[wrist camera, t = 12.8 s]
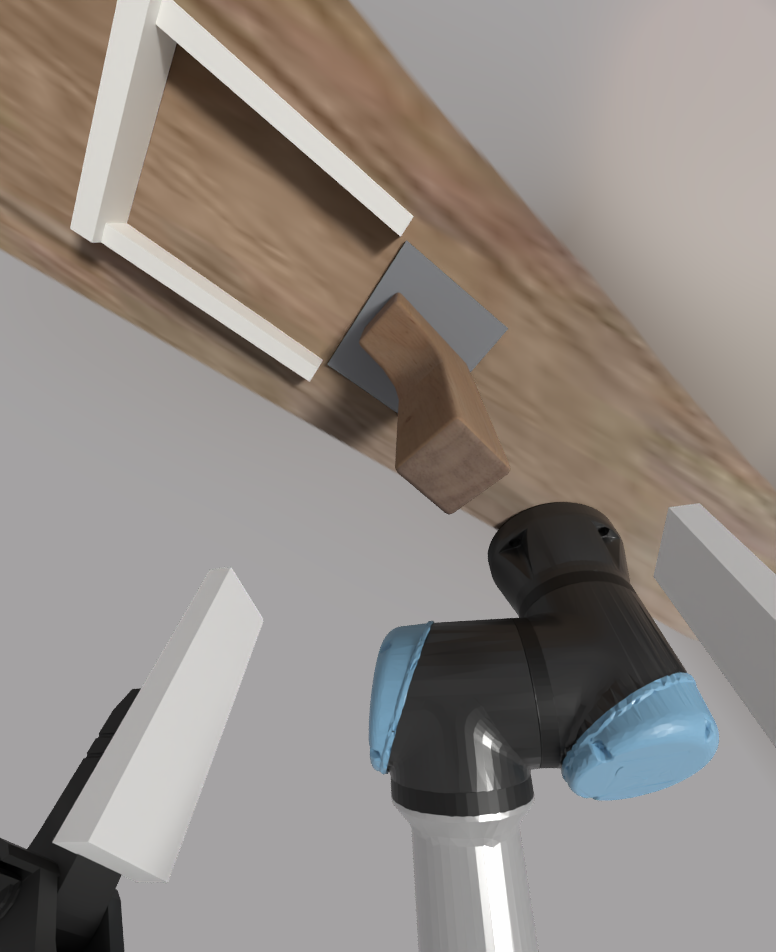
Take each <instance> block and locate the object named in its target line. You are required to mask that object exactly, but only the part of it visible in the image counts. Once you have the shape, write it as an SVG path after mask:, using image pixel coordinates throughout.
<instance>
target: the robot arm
mask: <svg viewBox="0 0 776 952" xmlns="http://www.w3.org/2000/svg"><path fill="white" fill-rule="evenodd" d="M488 562H489V566H490V570H491V574H492V577H493V580H494V582H495V584H496V585H497V587H498V588H499V590H500V591H501V592H502V594H503V595H504V596H505V598H506V599H507V600H508V602H509V603H510V604H511V606H512V607H513V609H514V610H515V611H516V613H517V614H518V616H519V618H507V619H490V620H476V621H458V622H441V623H434V622H433V621H429V622H428V623H427V624H418V625H409V626H401V627H397V628H395V629H393V630H392V631H390V632H389V633H388V635H387V636H386V637H385V639H384V640H383V643H382V645H381V647H380V651H379V654H378V658H377V662H376V667H375V672H374V679H373V685H372V694H371V703H370V716H369V745H370V760H371V764H372V766H373V768H374V769H375V770H377V771H380V772H381V773H382V774H388V772H390V775H391V791H392V802H393V804H394V806H395V807H396V808H397V809H398V811H399V812H400V813H401V814H402V815H403V816H404V817H405V819H406V820H407V821H408V822H409V823H410V825H411V828H412V842H413V859H414V874H415V875H414V877H415V895H416V912H417V930H418V947H419V952H539V951H538V944H537V937H536V931H535V924H534V918H533V911H532V905H531V898H530V891H529V885H528V879H527V872H526V865H525V859H524V852H523V846H522V840H521V833H520V824H521V822H522V820H523V818H524V817H525V815H526V814H527V812H528V811H529V809H530V808H531V806H532V805H533V803H534V799H535V798H534V792H533V785H532V779H531V774H530V773H531V769H538V768H561V772H562V776H563V778H564V780H565V781H566V782H567V783H568V785H569V787H570V788H571V790H572V791H573V792H574V793H576V794H577V795H579V796H581V797H584V798H589V797H590V798H593V799H595V800H619V799H626V798H632V797H637V796H640V795H645V794H649V793H652V792H656V791H659V790H662V789H664V788H667V787H670V786H672V785H674V784H676V783H679V782H681V781H683V780H685V779H686V778H688V777H690V776H692V775H693V774H695V773H696V772H698V771H699V770H700V769H702V768H703V767H704V766H705V765H706V764H707V763H708V762H709V761H710V760H711V759H712V758H713V756H714V754H715V752H716V750H717V748H718V743H719V733H718V728H717V725H716V723H715V721H714V719H713V717H712V715H711V713H710V711H709V709H708V708H707V706H706V704H705V702H704V700H703V698H702V696H701V694H700V693H699V691H698V689H697V687H696V683H695V680H694V679H693V677H692V676H691V675H690V674H688V673H687V671H686V670H685V668H684V667H683V665H682V663H681V662H680V660H679V659H678V657H677V656H676V654H675V653H674V651H673V649H672V648H671V647H670V645H669V644H668V642H667V640H666V639H665V637H664V636H663V634H662V632H661V631H660V629H659V628H658V626H657V625H656V623H655V621H654V620H653V618H652V617H651V615H650V614H649V612H648V611H647V609H646V607H645V606H644V604H643V603H642V601H641V600H640V598H639V597H638V595H637V594H636V592H635V590H634V589H633V587H632V585H631V584H630V579H629V573H628V568H627V562H626V557H625V551H624V546H623V542H622V540H621V537H620V535H619V534H618V532H617V531H616V529H615V528H614V526H613V525H612V523H611V522H610V521H609V519H608V518H607V517H606V516H605V515H604V514H602V513H601V512H599V511H598V510H596V509H594V508H592V507H589V506H586V505H582V504H578V503H568V502H559V503H550V504H544V505H540V506H536V507H533V508H531V509H528V510H526V511H524V512H521V513H520V514H518V515H516V516H514V517H513V518H511V519H510V520H509V521H507V522H506V523H505V524H504V525H503V526H502V527H501V528H500V529H499V530H498V531H497V533H496V534H495V536H494V537H493V539H492V541H491V543H490V546H489V550H488ZM654 578H655V579H656V581H657V582H658V583H659V585H660V586H661V588H662V589H663V590H664V592H665V593H666V595H667V596H668V597H669V599H670V600H671V602H672V603H673V604H674V606H675V607H676V609H677V610H678V611H679V613H680V614H681V616H682V617H683V618H684V620H685V621H686V623H687V624H688V625H689V627H690V628H691V630H692V631H693V632H694V634H695V635H696V637H697V638H698V639H699V641H700V642H701V644H702V645H703V646H704V648H705V649H706V650H707V652H708V653H709V655H710V656H711V658H712V659H713V660H714V662H715V663H716V665H717V666H718V667H719V669H720V670H721V672H722V673H723V674H724V676H725V677H726V679H727V680H728V681H729V683H730V684H731V686H732V687H733V688H734V690H735V691H736V693H737V694H738V695H739V697H740V698H741V700H742V701H743V702H744V704H745V705H746V707H747V708H748V709H749V711H750V712H751V714H752V715H753V717H754V718H755V719H756V721H757V722H758V724H759V725H760V726H761V728H762V729H763V731H764V732H765V733H766V735H767V736H768V737H769V739H770V740H771V742H772V743H773V745H774V746H775V747H776V574H775V573H774V572H772V571H771V570H770V569H769V568H768V567H767V566H766V565H765V564H764V563H763V562H762V561H761V560H760V559H759V558H757V557H756V556H755V555H754V554H753V553H752V552H751V551H750V550H749V549H748V548H747V547H746V546H745V545H744V544H742V543H741V542H740V541H739V540H738V539H737V538H736V537H735V536H734V535H733V534H732V533H731V532H730V531H729V530H727V529H726V528H725V527H724V526H723V525H722V524H721V523H720V522H719V521H718V520H717V519H716V518H715V517H714V516H712V515H711V514H710V513H709V512H708V511H707V510H706V509H705V508H704V507H703V506H702V505H701V504H700V503H698V504H691V505H683V506H676V507H669V508H668V513H667V517H666V522H665V527H664V531H663V536H662V540H661V545H660V550H659V554H658V559H657V563H656V568H655V572H654ZM262 623H263V618H262V616H261V615H260V613H259V612H258V610H257V608H256V607H255V605H254V604H253V602H252V600H251V598H250V597H249V595H248V594H247V592H246V590H245V589H244V587H243V586H242V584H241V582H240V581H239V579H238V577H237V576H236V574H235V573H234V571H233V569H232V568H231V567H227V568H219V569H212V570H209V572H208V574H207V576H206V578H205V579H204V581H203V583H202V584H201V586H200V588H199V589H198V591H197V593H196V594H195V596H194V598H193V600H192V602H191V603H190V605H189V607H188V608H187V610H186V612H185V614H184V615H183V617H182V619H181V621H180V622H179V624H178V626H177V627H176V629H175V631H174V632H173V634H172V636H171V638H170V640H169V641H168V643H167V645H166V646H165V648H164V650H163V652H162V653H161V655H160V657H159V659H158V660H157V662H156V664H155V665H154V667H153V669H152V671H151V672H150V674H149V676H148V678H147V679H146V681H145V683H144V685H143V686H142V688H141V689H132V690H131V691H130V692H129V693H128V694H127V696H126V697H125V698H124V699H123V700H122V701H121V702H120V703H119V704H118V705H117V706H116V708H115V709H114V710H113V711H112V713H111V715H110V716H109V718H108V720H107V721H106V723H105V724H104V726H103V728H102V729H101V731H100V733H99V737H98V738H96V739H95V741H94V742H93V744H92V746H91V747H90V749H89V751H88V752H87V757H86V758H84V759H83V760H82V762H81V764H80V765H79V767H78V769H77V770H76V772H75V773H74V775H73V777H72V779H71V780H70V782H69V783H68V785H67V787H66V788H65V790H64V792H63V793H62V795H61V796H60V798H59V800H58V801H57V803H56V805H55V806H54V808H53V810H52V811H51V813H50V814H49V816H48V818H47V819H46V821H45V823H44V824H43V826H42V828H41V829H40V831H39V832H38V834H37V835H36V837H35V839H34V840H33V842H32V843H31V845H30V846H29V847H28V849H25V848H22V847H20V846H18V845H15V844H13V843H11V842H9V841H6V840H4V839H1V838H0V952H124V941H123V927H122V913H121V900H120V897H119V894H118V891H117V890H116V889H115V888H116V886H117V884H118V882H119V879H120V877H121V875H122V876H124V877H126V878H128V879H130V880H133V881H135V882H137V883H139V882H140V883H146V882H147V883H148V882H149V883H154V882H156V883H159V882H160V883H166V882H168V880H169V878H170V875H171V872H172V870H173V866H174V864H175V861H176V859H177V856H178V853H179V850H180V847H181V845H182V842H183V839H184V837H185V834H186V831H187V829H188V826H189V823H190V820H191V818H192V815H193V812H194V809H195V807H196V804H197V801H198V798H199V795H200V793H201V790H202V787H203V785H204V782H205V779H206V777H207V774H208V771H209V768H210V766H211V763H212V760H213V757H214V754H215V752H216V749H217V746H218V744H219V741H220V738H221V735H222V733H223V730H224V727H225V725H226V722H227V719H228V716H229V714H230V710H231V708H232V705H233V703H234V700H235V697H236V694H237V691H238V689H239V686H240V684H241V681H242V678H243V675H244V673H245V670H246V667H247V664H248V662H249V659H250V656H251V653H252V650H253V648H254V645H255V642H256V640H257V637H258V634H259V631H260V629H261V626H262Z"/></svg>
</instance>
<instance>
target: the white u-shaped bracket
mask: <svg viewBox="0 0 776 952" xmlns="http://www.w3.org/2000/svg"><path fill="white" fill-rule="evenodd" d="M177 43H178V44H179V45H180V46H181V47H183V48H184V49H185V50H186V51H187V52H188V53H190V54H191V55H192V56H193V57H194V58H195V59H196V60H198V61H199V62H200V63H201V64H202V65H203V66H205V67H206V68H207V69H208V70H209V71H210V72H211V73H213V74H214V75H215V76H216V77H217V78H218V79H219V80H221V81H222V82H223V83H224V84H225V85H226V86H228V87H229V88H230V89H231V90H232V91H233V92H234V93H236V94H237V95H238V96H239V97H240V98H241V99H243V100H244V101H245V102H246V103H247V104H248V105H249V106H251V107H252V108H253V109H254V110H255V111H256V112H258V113H259V114H260V115H261V116H262V117H263V118H264V119H266V120H267V121H268V122H269V123H270V124H271V125H273V126H274V127H275V128H276V129H277V130H278V131H279V132H281V133H282V134H283V135H284V136H285V137H286V138H287V139H289V140H290V141H291V142H292V143H293V144H294V145H296V146H297V147H298V148H299V149H300V150H301V151H302V152H304V153H305V154H306V155H307V156H308V157H309V158H311V159H312V160H313V161H314V162H315V163H316V164H317V165H319V166H320V167H321V168H322V169H323V170H324V171H326V172H327V173H328V174H329V175H330V176H331V177H332V178H334V179H335V180H336V181H337V182H338V183H339V184H341V185H342V186H343V187H344V188H345V189H346V190H347V191H349V192H350V193H351V194H352V195H353V196H354V197H356V198H357V199H358V200H359V201H360V202H361V203H362V204H364V205H365V206H366V207H367V208H368V209H369V210H370V211H372V212H373V213H374V214H375V215H376V216H377V217H379V218H380V219H381V220H382V221H383V222H384V223H385V224H387V225H388V226H389V227H390V228H391V229H392V230H394V231H395V232H396V233H397V234H398V235H399V236H400V237H401V235H402V234H403V232H404V231H405V229H406V227H407V226H408V224H409V223H410V221H411V219H412V218H413V216H412V215H411V214H410V213H409V212H408V211H407V210H406V209H405V208H403V207H402V206H401V205H400V204H399V203H398V202H397V201H396V200H395V199H393V198H392V197H391V196H390V195H389V194H388V193H387V192H386V191H385V190H383V189H382V188H381V187H380V186H379V185H378V184H377V183H376V182H375V181H373V180H372V179H371V178H370V177H369V176H368V175H367V174H366V173H365V172H363V171H362V170H361V169H360V168H359V167H358V166H357V165H356V164H354V163H353V162H352V161H351V160H350V159H349V158H348V157H347V156H346V155H344V154H343V153H342V152H341V151H340V150H339V149H338V148H337V147H336V146H334V145H333V144H332V143H331V142H330V141H329V140H328V139H327V138H326V137H324V136H323V135H322V134H321V133H320V132H319V131H318V130H317V129H316V128H314V127H313V126H312V125H311V124H310V123H309V122H308V121H307V120H305V119H304V118H303V117H302V116H301V115H300V114H299V113H298V112H297V111H295V110H294V109H293V108H292V107H291V106H290V105H289V104H288V103H287V102H285V101H284V100H283V99H282V98H281V97H280V96H279V95H278V94H277V93H275V92H274V91H273V90H272V89H271V88H270V87H269V86H268V85H267V84H265V83H264V82H263V81H262V80H261V79H260V78H259V77H258V76H257V75H255V74H254V73H253V72H252V71H251V70H250V69H249V68H248V67H246V66H245V65H244V64H243V63H242V62H241V61H240V60H239V59H238V58H236V57H235V56H234V55H233V54H232V53H231V52H230V51H229V50H228V49H226V48H225V47H224V46H223V45H222V44H221V43H220V42H219V41H218V40H216V39H215V38H214V37H213V36H212V35H211V34H210V33H209V32H208V31H206V30H205V29H204V28H203V27H202V26H201V25H200V24H199V23H197V22H196V21H195V20H194V19H193V18H192V17H191V16H190V15H189V14H187V13H186V12H185V11H184V10H183V9H182V8H181V7H180V6H179V5H177V4H176V3H175V2H174V1H173V0H117V5H116V10H115V15H114V20H113V24H112V29H111V34H110V39H109V44H108V49H107V53H106V58H105V63H104V68H103V73H102V77H101V82H100V87H99V92H98V97H97V102H96V106H95V111H94V116H93V121H92V126H91V130H90V135H89V140H88V145H87V150H86V155H85V159H84V164H83V169H82V174H81V179H80V183H79V188H78V193H77V198H76V203H75V208H74V212H73V217H72V222H71V227H70V229H72V230H73V231H75V232H76V233H78V234H79V235H81V236H82V237H84V238H85V239H87V240H88V241H90V242H91V243H98V242H101V243H103V244H104V245H106V246H107V247H109V248H110V249H112V250H113V251H115V252H116V253H118V254H119V255H121V256H122V257H124V258H125V259H127V260H128V261H130V262H131V263H133V264H134V265H136V266H137V267H139V268H140V269H142V270H143V271H145V272H146V273H148V274H149V275H151V276H152V277H154V278H155V279H157V280H158V281H160V282H161V283H163V284H164V285H166V286H167V287H169V288H170V289H172V290H173V291H175V292H176V293H178V294H179V295H181V296H182V297H184V298H185V299H186V300H188V301H189V302H191V303H192V304H194V305H195V306H197V307H198V308H200V309H201V310H203V311H204V312H206V313H207V314H209V315H210V316H212V317H213V318H215V319H216V320H218V321H219V322H221V323H222V324H224V325H225V326H227V327H228V328H230V329H231V330H233V331H234V332H236V333H237V334H239V335H240V336H242V337H243V338H245V339H246V340H248V341H249V342H251V343H252V344H254V345H255V346H257V347H258V348H260V349H261V350H263V351H264V352H266V353H267V354H269V355H270V356H272V357H273V358H275V359H276V360H278V361H279V362H281V363H282V364H284V365H285V366H287V367H288V368H290V369H291V370H293V371H294V372H296V373H297V374H299V375H300V376H302V377H303V378H305V379H306V380H308V381H309V382H310V380H311V378H312V377H313V375H314V374H315V372H316V371H317V369H318V367H319V366H320V364H321V363H322V361H323V360H322V359H321V358H320V357H318V356H317V355H315V354H314V353H312V352H311V351H309V350H308V349H307V348H305V347H304V346H302V345H301V344H299V343H298V342H297V341H295V340H294V339H292V338H291V337H289V336H288V335H287V334H285V333H284V332H282V331H281V330H279V329H278V328H276V327H275V326H274V325H272V324H271V323H269V322H268V321H266V320H265V319H264V318H262V317H261V316H259V315H258V314H256V313H255V312H253V311H252V310H251V309H249V308H248V307H246V306H245V305H243V304H242V303H241V302H239V301H238V300H236V299H235V298H233V297H232V296H231V295H229V294H228V293H226V292H225V291H223V290H222V289H220V288H219V287H218V286H216V285H215V284H213V283H212V282H210V281H209V280H208V279H206V278H205V277H203V276H202V275H200V274H199V273H198V272H196V271H195V270H193V269H192V268H190V267H189V266H187V265H186V264H185V263H183V262H182V261H180V260H179V259H177V258H176V257H175V256H173V255H172V254H170V253H169V252H167V251H166V250H165V249H163V248H162V247H160V246H159V245H157V244H156V243H154V242H153V241H152V240H150V239H149V238H147V237H146V236H144V235H143V234H142V233H140V232H139V231H137V230H136V229H134V228H133V227H131V226H130V225H129V224H127V221H128V218H129V214H130V210H131V207H132V203H133V199H134V196H135V192H136V189H137V185H138V181H139V178H140V174H141V171H142V167H143V163H144V160H145V156H146V153H147V149H148V145H149V142H150V138H151V134H152V131H153V127H154V124H155V120H156V116H157V113H158V109H159V106H160V102H161V98H162V95H163V91H164V88H165V84H166V80H167V77H168V73H169V69H170V66H171V62H172V59H173V55H174V51H175V48H176V44H177Z"/></svg>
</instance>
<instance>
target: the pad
mask: <svg viewBox="0 0 776 952" xmlns="http://www.w3.org/2000/svg"><path fill="white" fill-rule="evenodd" d="M395 293H401V294H402V295H403V296H404V297H405V298H406V299H407V300H408V301H409V302H410V304H411V305H412V306H413V307H414V308H415V309H416V310H417V311H418V312H419V313H420V314H421V315H422V316H423V318H424V319H425V320H426V321H427V322H428V323H429V324H430V325H431V326H432V327H433V328H434V329H435V330H436V332H437V333H438V334H439V335H440V336H441V337H442V338H443V339H444V340H445V341H446V342H447V343H448V344H449V346H450V347H451V348H452V349H453V350H454V351H455V352H456V353H457V354H458V355H459V356H460V357H461V358H462V360H463V361H464V362H465V363H466V364H467V366H468V369H469V371H470V372H471V371H472V370H473V369H474V368H475V366H476V365H477V364H478V363H479V362H480V361H481V359H482V358H483V357H484V356H485V355H486V354H487V353H488V351H489V350H490V349H491V348H492V347H493V346H494V344H495V343H496V342H497V341H498V340H499V339H500V338H501V336H502V335H503V334H504V333H505V332H506V331H507V329H508V328H507V327H506V326H505V325H503V324H502V323H501V322H500V321H499V320H498V319H496V318H495V317H494V316H493V315H492V314H491V313H490V312H488V311H487V310H486V309H485V308H484V307H483V306H482V305H480V304H479V303H478V302H477V301H476V300H475V299H473V298H472V297H471V296H470V295H469V294H468V293H467V292H465V291H464V290H463V289H462V288H461V287H460V286H458V285H457V284H456V283H455V282H454V281H453V280H452V279H450V278H449V277H448V276H447V275H446V274H445V273H444V272H442V271H441V270H440V269H439V268H438V267H437V266H435V265H434V264H433V263H432V262H431V261H430V260H429V259H427V258H426V257H425V256H424V255H423V254H422V253H421V252H419V251H418V250H417V249H416V248H415V247H414V246H412V245H411V244H410V243H409V242H408V241H407V240H406V242H405V244H404V245H403V247H402V248H401V250H400V251H399V253H398V254H397V256H396V258H395V259H394V261H393V262H392V264H391V265H390V267H389V269H388V270H387V272H386V273H385V275H384V276H383V278H382V280H381V281H380V283H379V284H378V286H377V287H376V289H375V290H374V292H373V294H372V295H371V297H370V298H369V300H368V301H367V303H366V305H365V306H364V308H363V309H362V311H361V312H360V314H359V315H358V317H357V319H356V320H355V322H354V323H353V325H352V326H351V328H350V330H349V331H348V333H347V334H346V336H345V337H344V339H343V341H342V342H341V344H340V345H339V347H338V348H337V350H336V351H335V353H334V355H333V356H332V358H331V359H330V361H329V362H328V364H327V365H329V366H330V367H332V368H333V369H335V370H336V371H338V372H339V373H340V374H342V375H343V376H345V377H346V378H348V379H349V380H350V381H352V382H353V383H355V384H356V385H358V386H359V387H361V388H362V389H363V390H365V391H366V392H368V393H369V394H371V395H372V396H373V397H375V398H376V399H378V400H379V401H381V402H382V403H384V404H385V405H386V406H388V407H389V408H391V409H392V410H394V411H395V412H396V413H398V403H399V399H398V396H397V392H396V389H395V387H394V385H393V384H392V382H391V381H390V379H389V378H388V376H387V375H386V373H385V372H384V370H383V369H382V368H381V367H380V366H379V365H378V364H377V363H376V362H375V361H374V360H373V359H372V357H371V356H370V355H369V354H368V353H367V352H366V351H365V350H364V349H363V348H362V347H361V346H360V344H359V340H360V337H361V335H362V333H363V330H364V328H365V327H366V326H367V325H368V323H369V322H370V321H371V320H372V319H373V318H374V317H375V315H376V314H377V313H378V312H379V311H380V310H381V309H382V308H383V306H384V305H385V304H386V303H387V302H388V301H389V300H390V299H391V297H392V296H393V295H394V294H395Z"/></svg>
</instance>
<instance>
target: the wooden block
mask: <svg viewBox="0 0 776 952" xmlns="http://www.w3.org/2000/svg"><path fill="white" fill-rule="evenodd" d="M359 344H360V346H361V347H362V348H363V349H364V350H365V351H366V352H367V353H368V354H369V355H370V356H371V357H372V359H373V360H374V361H375V362H376V363H377V364H378V365H379V366H380V367H381V368H382V369H383V370H384V372H385V373H386V375H387V376H388V378H389V379H390V381H391V382H392V384H393V385H394V387H395V389H396V392H397V396H398V399H399V403H398V423H397V442H396V462H395V468H396V470H397V472H398V473H399V474H400V475H401V476H402V477H403V478H404V479H406V480H407V481H408V482H409V483H410V484H412V485H413V486H414V487H415V488H416V489H418V490H419V491H420V492H421V493H422V494H423V495H425V496H426V497H427V498H428V499H430V500H431V501H432V502H433V503H434V504H436V505H437V506H438V507H439V508H440V509H441V510H443V511H444V512H445V513H447V514H452V513H454V512H455V511H457V510H458V509H460V508H461V507H462V506H464V505H465V504H467V503H468V502H469V501H471V500H472V499H474V498H475V497H476V496H478V495H479V494H481V493H482V492H483V491H485V490H486V489H488V488H489V487H490V486H492V485H493V484H495V483H496V482H497V481H499V480H500V479H502V478H503V477H504V476H506V475H507V474H508V473H509V471H510V465H509V462H508V460H507V458H506V455H505V453H504V451H503V448H502V446H501V444H500V441H499V439H498V437H497V434H496V432H495V430H494V427H493V425H492V423H491V420H490V418H489V416H488V413H487V411H486V409H485V406H484V404H483V401H482V399H481V397H480V394H479V392H478V390H477V387H476V385H475V382H474V380H473V378H472V375H471V373H470V371H469V369H468V366H467V364H466V363H465V362H464V361H463V360H462V358H461V357H460V356H459V355H458V354H457V353H456V352H455V351H454V350H453V349H452V348H451V347H450V346H449V344H448V343H447V342H446V341H445V340H444V339H443V338H442V337H441V336H440V335H439V334H438V333H437V332H436V330H435V329H434V328H433V327H432V326H431V325H430V324H429V323H428V322H427V321H426V320H425V319H424V318H423V316H422V315H421V314H420V313H419V312H418V311H417V310H416V309H415V308H414V307H413V306H412V305H411V304H410V302H409V301H408V300H407V299H406V298H405V297H404V296H403V295H402V294H401V293H395V294H394V295H393V296H392V297H391V299H390V300H389V301H388V302H387V303H386V304H385V305H384V306H383V308H382V309H381V310H380V311H379V312H378V313H377V314H376V315H375V317H374V318H373V319H372V320H371V321H370V322H369V323H368V325H367V326H366V327H365V328H364V330H363V333H362V335H361V337H360V340H359Z"/></svg>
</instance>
